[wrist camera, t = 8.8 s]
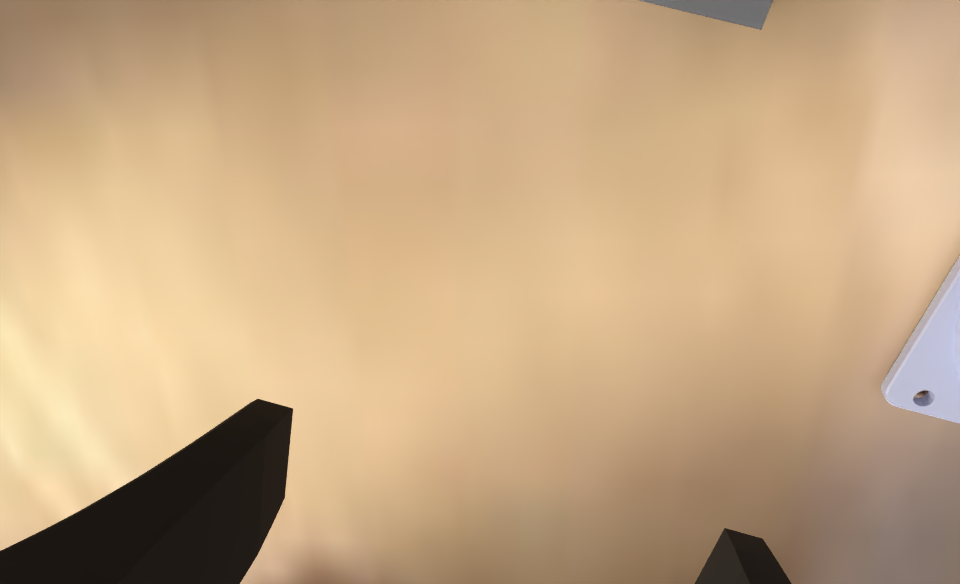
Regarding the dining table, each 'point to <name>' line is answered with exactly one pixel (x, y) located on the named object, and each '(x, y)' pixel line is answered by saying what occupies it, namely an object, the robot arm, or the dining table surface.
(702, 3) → the grey tray
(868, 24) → the dining table surface
